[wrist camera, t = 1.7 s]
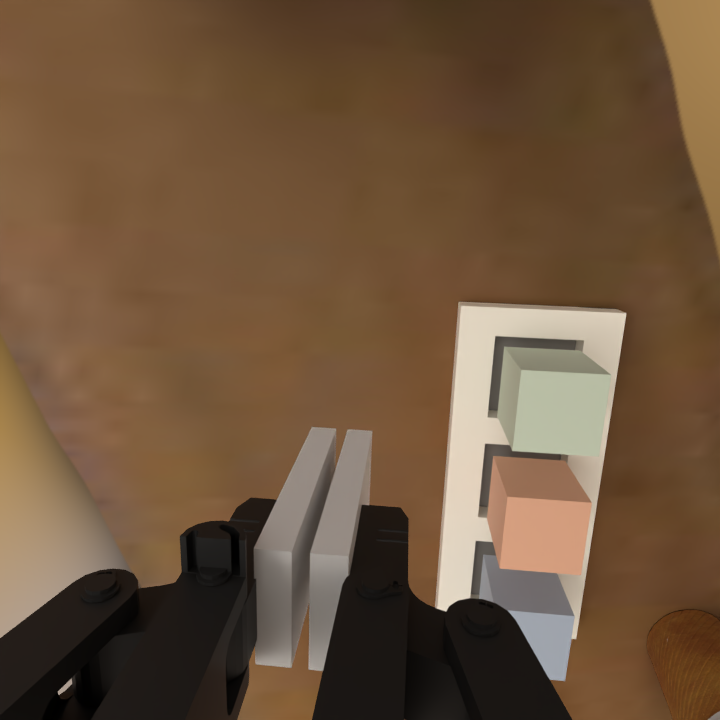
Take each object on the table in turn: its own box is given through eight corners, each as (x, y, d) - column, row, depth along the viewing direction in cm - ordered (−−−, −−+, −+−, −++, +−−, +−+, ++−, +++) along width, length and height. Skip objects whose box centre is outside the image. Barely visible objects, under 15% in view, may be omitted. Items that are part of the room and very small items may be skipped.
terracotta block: (493, 455, 39) (507, 496, 34) (564, 460, 39) (591, 502, 33) (486, 518, 41) (499, 568, 35) (556, 524, 40) (580, 575, 34)
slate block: (483, 554, 41) (495, 609, 36) (551, 560, 41) (574, 616, 35) (477, 611, 43) (488, 673, 37) (543, 617, 42) (565, 681, 36)
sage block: (504, 346, 37) (521, 369, 32) (580, 350, 37) (611, 374, 31) (497, 416, 39) (512, 450, 33) (570, 420, 38) (598, 456, 32)
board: (458, 301, 40) (461, 305, 38) (615, 308, 39) (626, 313, 37) (434, 609, 46) (435, 626, 44) (569, 621, 45) (576, 639, 43)
